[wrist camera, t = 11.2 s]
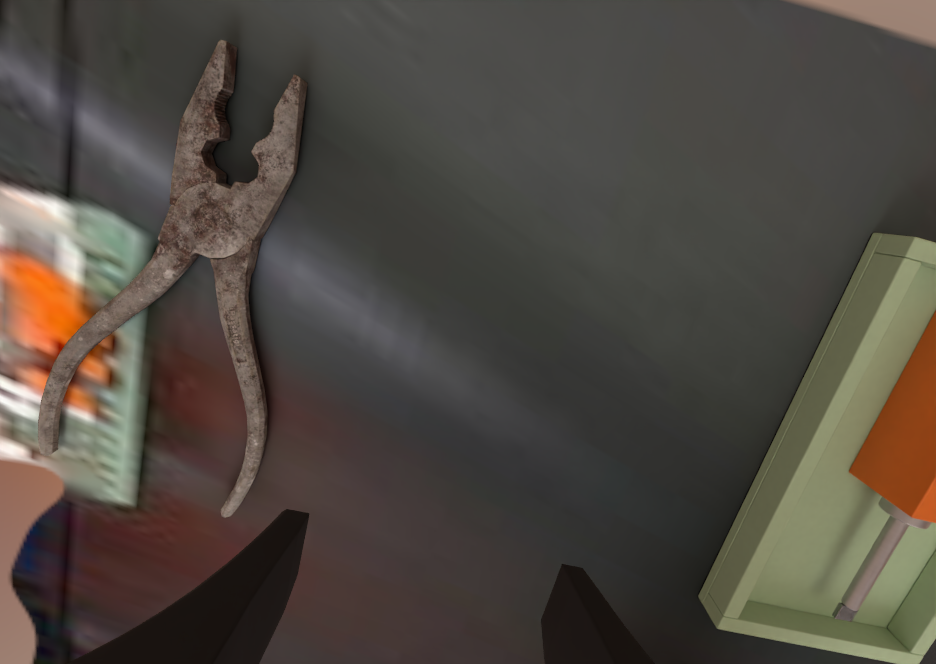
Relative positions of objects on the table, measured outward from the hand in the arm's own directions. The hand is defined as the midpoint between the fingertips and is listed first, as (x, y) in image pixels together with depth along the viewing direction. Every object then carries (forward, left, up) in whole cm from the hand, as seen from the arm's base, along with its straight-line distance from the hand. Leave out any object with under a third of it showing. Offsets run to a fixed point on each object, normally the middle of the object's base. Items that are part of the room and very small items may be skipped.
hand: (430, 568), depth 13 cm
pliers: (+8, +10, -9) cm, 16 cm away
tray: (-7, -20, -9) cm, 23 cm away
